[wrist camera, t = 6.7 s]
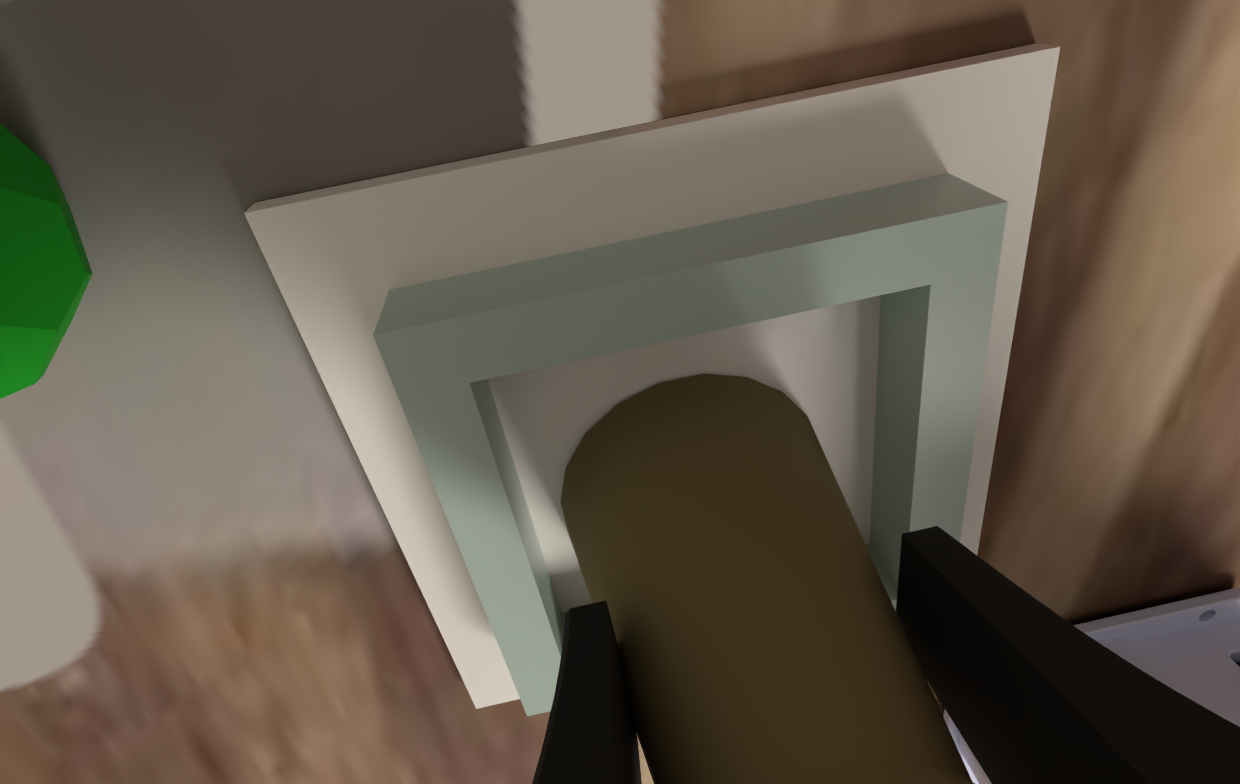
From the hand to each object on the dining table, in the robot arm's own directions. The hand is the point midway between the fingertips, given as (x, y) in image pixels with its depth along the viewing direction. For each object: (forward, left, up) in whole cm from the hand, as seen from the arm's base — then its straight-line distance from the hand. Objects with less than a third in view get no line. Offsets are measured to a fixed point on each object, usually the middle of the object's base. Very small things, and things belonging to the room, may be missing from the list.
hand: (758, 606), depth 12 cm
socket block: (0, 0, -5) cm, 5 cm away
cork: (0, +1, -4) cm, 5 cm away
